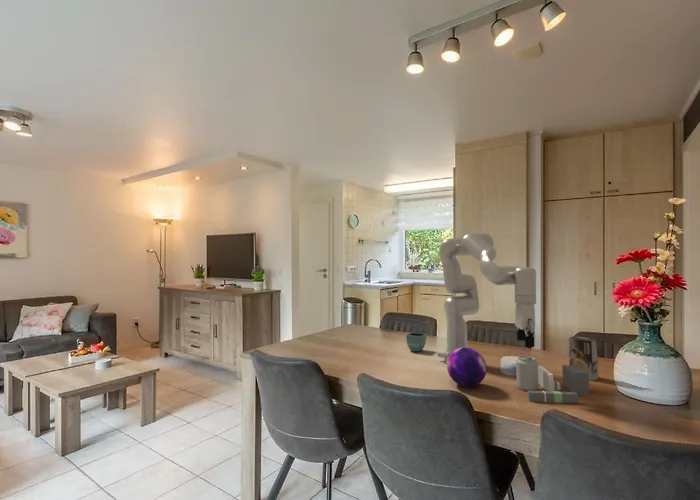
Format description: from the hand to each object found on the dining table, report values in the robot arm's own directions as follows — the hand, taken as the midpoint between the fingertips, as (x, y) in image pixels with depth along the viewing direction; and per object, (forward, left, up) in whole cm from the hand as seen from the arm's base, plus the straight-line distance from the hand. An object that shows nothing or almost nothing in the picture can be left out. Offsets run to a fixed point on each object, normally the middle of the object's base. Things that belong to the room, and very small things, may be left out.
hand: (525, 343), depth 143 cm
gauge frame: (+8, -4, -17) cm, 20 cm away
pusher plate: (+9, -3, -17) cm, 19 cm away
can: (0, 0, -17) cm, 17 cm away
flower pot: (-40, +55, -17) cm, 70 cm away
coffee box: (+28, +17, -17) cm, 37 cm away
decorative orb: (-22, +1, -17) cm, 28 cm away
